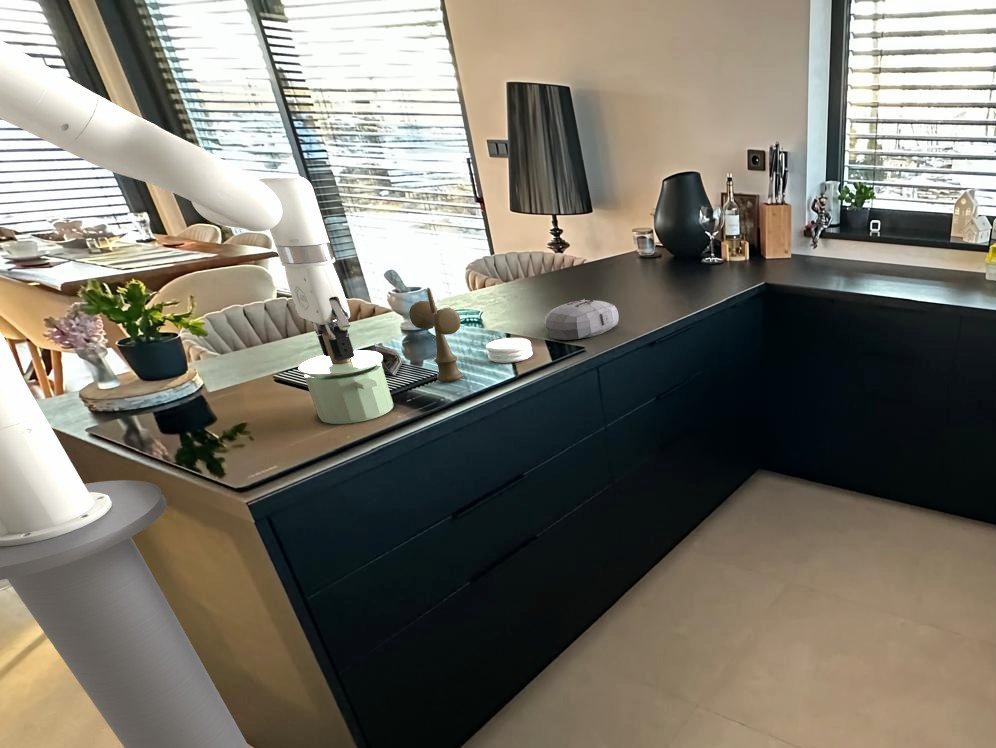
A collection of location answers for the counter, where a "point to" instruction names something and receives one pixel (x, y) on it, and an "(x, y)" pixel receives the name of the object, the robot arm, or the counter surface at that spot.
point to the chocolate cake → (388, 358)
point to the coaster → (509, 350)
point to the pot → (350, 396)
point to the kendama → (438, 334)
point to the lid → (339, 362)
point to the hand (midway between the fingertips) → (339, 355)
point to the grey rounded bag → (581, 319)
